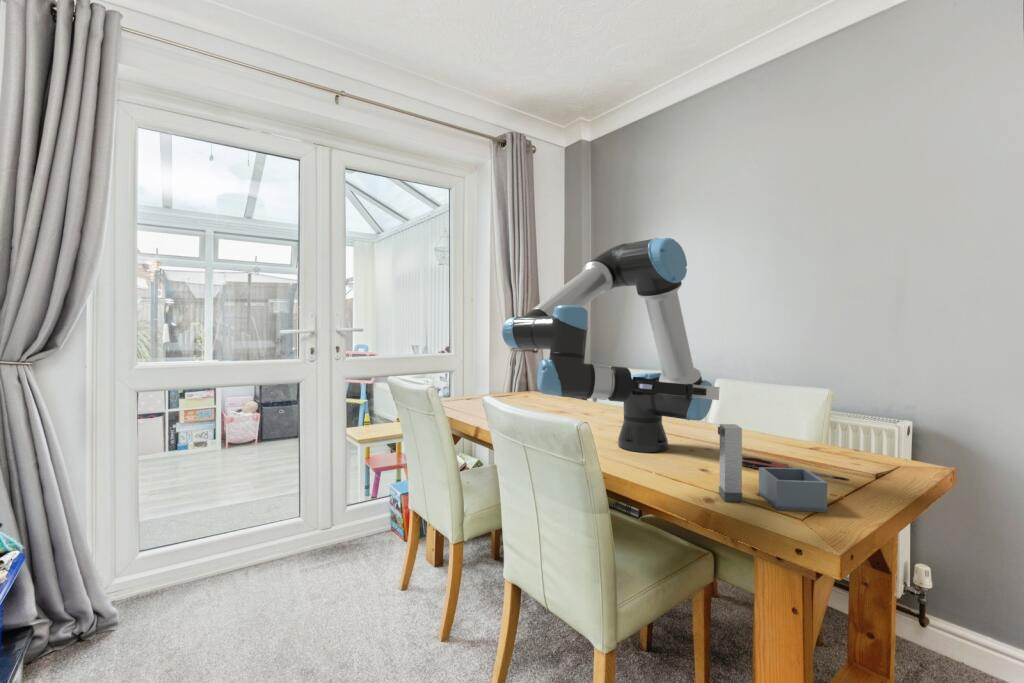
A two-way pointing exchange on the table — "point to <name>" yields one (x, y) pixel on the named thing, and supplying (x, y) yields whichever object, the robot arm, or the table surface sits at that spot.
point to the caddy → (793, 489)
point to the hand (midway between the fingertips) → (701, 391)
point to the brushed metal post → (730, 462)
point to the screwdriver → (778, 466)
